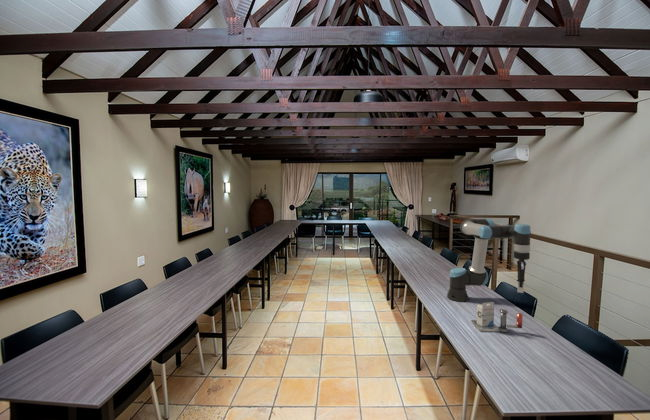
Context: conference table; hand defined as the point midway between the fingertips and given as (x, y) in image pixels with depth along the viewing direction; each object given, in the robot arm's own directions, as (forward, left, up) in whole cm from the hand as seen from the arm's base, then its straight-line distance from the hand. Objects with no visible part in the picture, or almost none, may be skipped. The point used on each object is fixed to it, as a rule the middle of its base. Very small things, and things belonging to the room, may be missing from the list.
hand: (520, 292), depth 168 cm
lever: (-6, +1, -24) cm, 24 cm away
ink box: (-12, -14, -25) cm, 31 cm away
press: (-11, -11, -26) cm, 31 cm away
